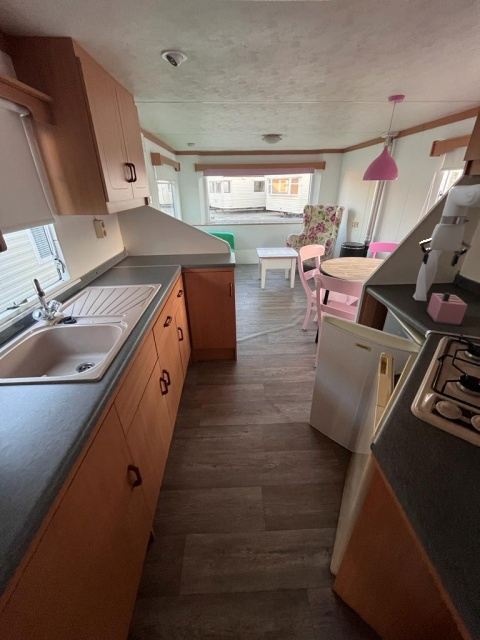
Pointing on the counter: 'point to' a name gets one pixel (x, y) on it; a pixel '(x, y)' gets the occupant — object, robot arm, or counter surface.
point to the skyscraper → (426, 275)
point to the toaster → (446, 309)
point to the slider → (446, 297)
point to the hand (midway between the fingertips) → (438, 264)
